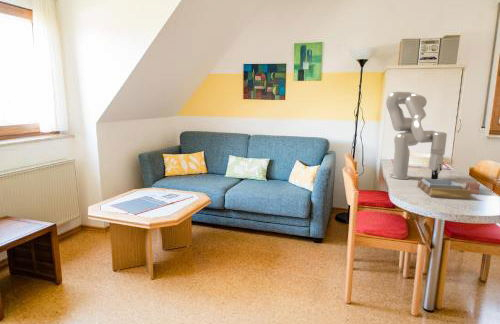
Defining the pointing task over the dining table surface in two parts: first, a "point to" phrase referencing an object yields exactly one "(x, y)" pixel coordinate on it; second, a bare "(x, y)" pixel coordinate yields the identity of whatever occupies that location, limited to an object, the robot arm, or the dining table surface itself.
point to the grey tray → (441, 184)
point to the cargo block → (473, 187)
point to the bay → (444, 192)
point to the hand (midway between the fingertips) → (434, 180)
